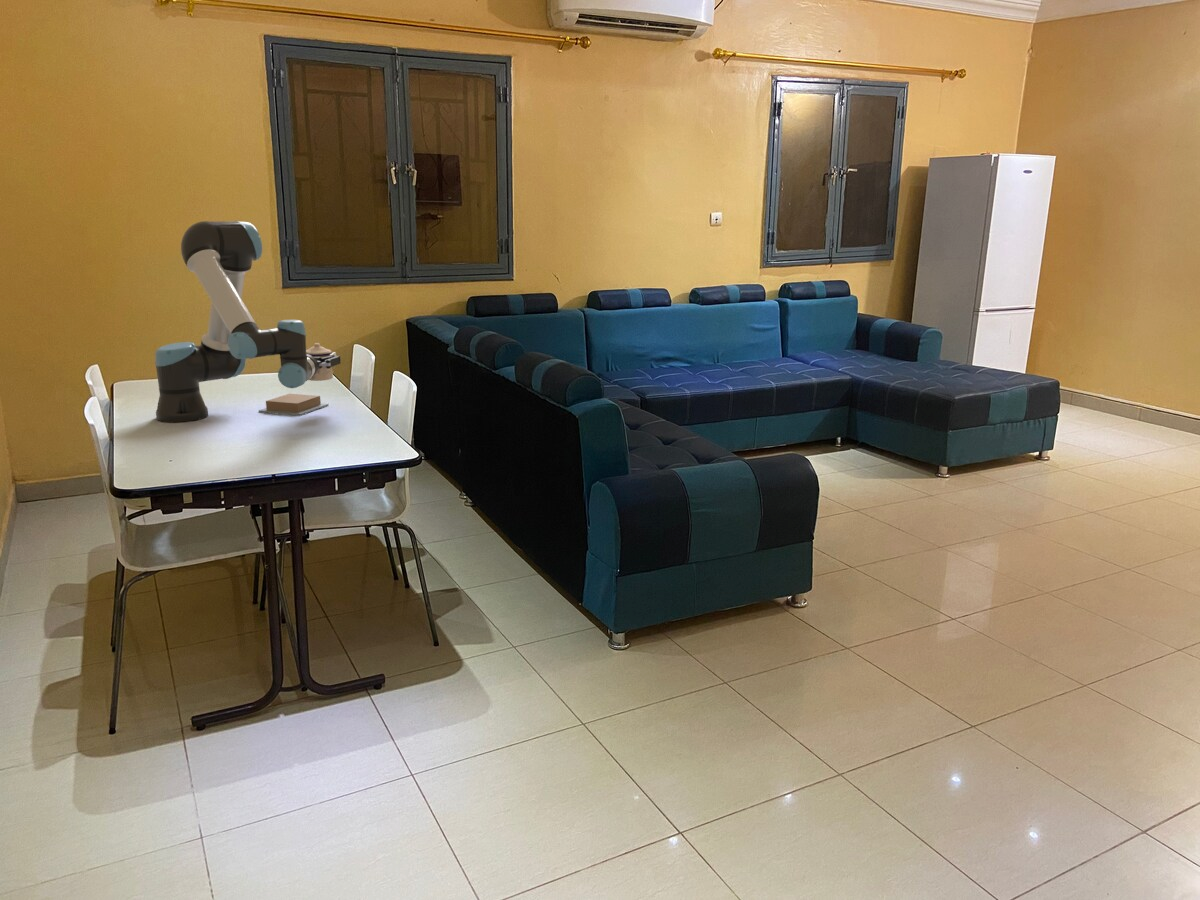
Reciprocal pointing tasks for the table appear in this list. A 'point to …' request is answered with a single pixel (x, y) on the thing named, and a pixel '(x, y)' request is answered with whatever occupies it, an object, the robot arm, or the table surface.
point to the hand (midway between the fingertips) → (320, 355)
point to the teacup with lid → (322, 372)
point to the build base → (293, 404)
